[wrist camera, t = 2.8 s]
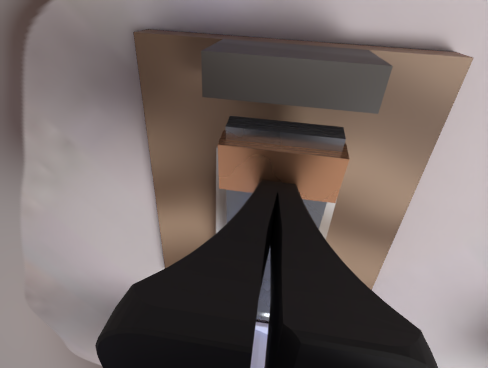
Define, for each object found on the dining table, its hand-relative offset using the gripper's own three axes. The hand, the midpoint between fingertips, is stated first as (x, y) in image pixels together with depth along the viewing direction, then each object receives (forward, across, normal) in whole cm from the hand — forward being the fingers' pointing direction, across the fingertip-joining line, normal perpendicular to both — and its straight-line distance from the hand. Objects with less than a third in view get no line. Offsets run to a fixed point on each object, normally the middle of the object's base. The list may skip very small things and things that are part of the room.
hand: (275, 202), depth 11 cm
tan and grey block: (+2, 0, +4) cm, 4 cm away
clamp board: (+6, 0, +4) cm, 7 cm away
